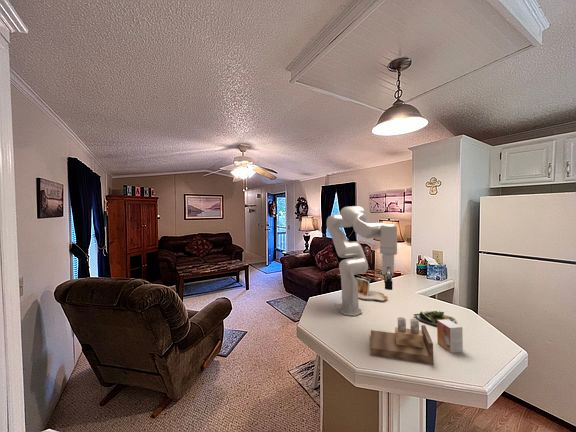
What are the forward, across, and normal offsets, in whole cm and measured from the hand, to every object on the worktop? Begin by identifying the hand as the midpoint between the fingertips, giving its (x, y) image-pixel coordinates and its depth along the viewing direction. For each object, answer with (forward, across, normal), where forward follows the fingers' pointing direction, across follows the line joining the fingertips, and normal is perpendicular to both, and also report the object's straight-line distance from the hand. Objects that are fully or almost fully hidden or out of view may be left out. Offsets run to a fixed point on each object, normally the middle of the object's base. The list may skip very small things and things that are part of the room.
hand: (388, 286), depth 117 cm
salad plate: (+24, -23, +24) cm, 41 cm away
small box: (+23, +5, +24) cm, 34 cm away
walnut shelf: (+23, +12, +4) cm, 26 cm away
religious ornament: (+26, -53, -10) cm, 60 cm away
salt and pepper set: (+20, +12, +8) cm, 24 cm away
